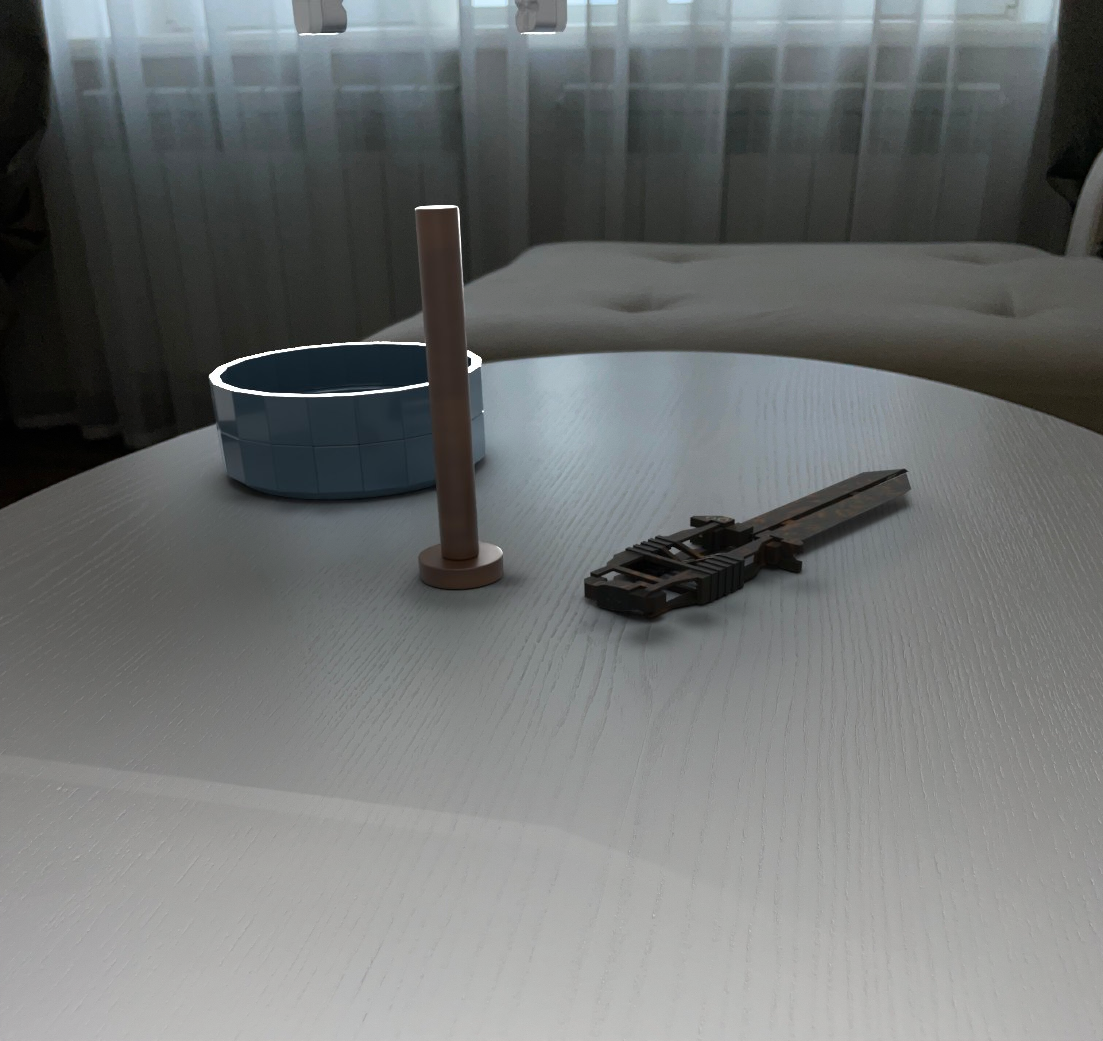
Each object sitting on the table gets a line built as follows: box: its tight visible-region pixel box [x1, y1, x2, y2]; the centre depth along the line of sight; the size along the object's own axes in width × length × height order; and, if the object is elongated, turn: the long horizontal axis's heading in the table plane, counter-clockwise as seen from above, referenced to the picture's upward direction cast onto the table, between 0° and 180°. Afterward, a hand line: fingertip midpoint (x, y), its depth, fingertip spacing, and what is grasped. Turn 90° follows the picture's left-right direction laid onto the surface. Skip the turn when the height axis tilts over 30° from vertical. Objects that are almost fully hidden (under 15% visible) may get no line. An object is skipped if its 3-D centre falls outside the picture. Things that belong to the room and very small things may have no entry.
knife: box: [583, 468, 912, 619], centre depth 57 cm, size 25×6×1 cm, turn 130°
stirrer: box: [414, 204, 504, 590], centre depth 51 cm, size 4×4×16 cm
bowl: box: [208, 341, 487, 500], centre depth 71 cm, size 16×16×6 cm
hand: (436, 33), depth 45 cm, fingers open, 8 cm apart
